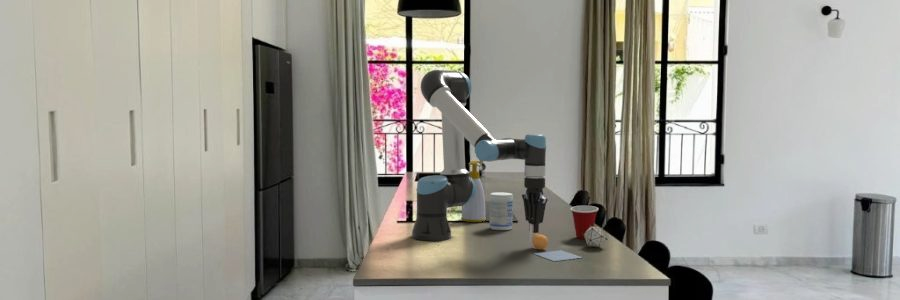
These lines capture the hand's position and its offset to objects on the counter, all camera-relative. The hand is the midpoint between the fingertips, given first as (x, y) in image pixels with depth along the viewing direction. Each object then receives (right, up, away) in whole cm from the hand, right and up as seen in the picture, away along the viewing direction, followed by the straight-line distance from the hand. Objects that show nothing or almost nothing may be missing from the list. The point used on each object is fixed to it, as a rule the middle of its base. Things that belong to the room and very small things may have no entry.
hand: (533, 241), depth 247 cm
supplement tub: (-9, 0, +35) cm, 36 cm away
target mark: (+7, -3, -13) cm, 15 cm away
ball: (+2, 0, -4) cm, 4 cm away
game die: (+22, -3, +2) cm, 23 cm away
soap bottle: (-20, +2, +53) cm, 57 cm away
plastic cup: (+22, -1, +19) cm, 29 cm away
